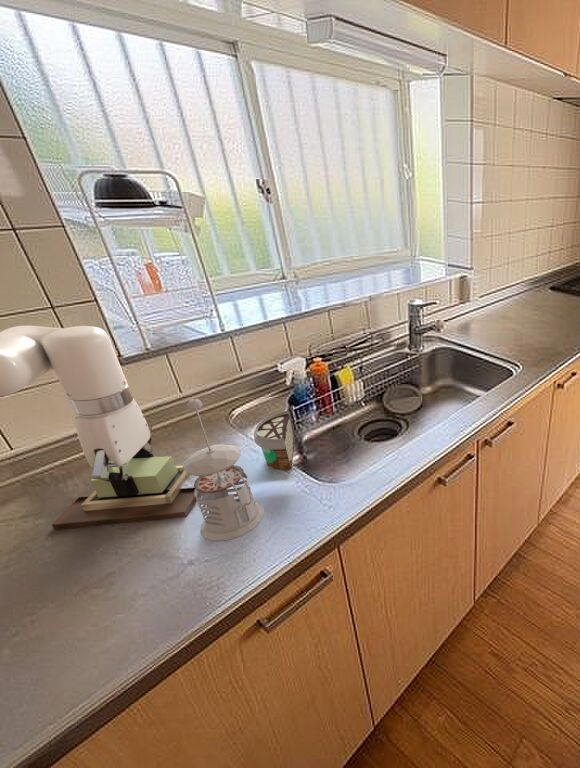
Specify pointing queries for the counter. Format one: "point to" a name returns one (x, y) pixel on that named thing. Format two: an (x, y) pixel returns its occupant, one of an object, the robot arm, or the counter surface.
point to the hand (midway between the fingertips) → (138, 482)
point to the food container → (276, 440)
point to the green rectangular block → (142, 476)
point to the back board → (129, 507)
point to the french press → (222, 489)
